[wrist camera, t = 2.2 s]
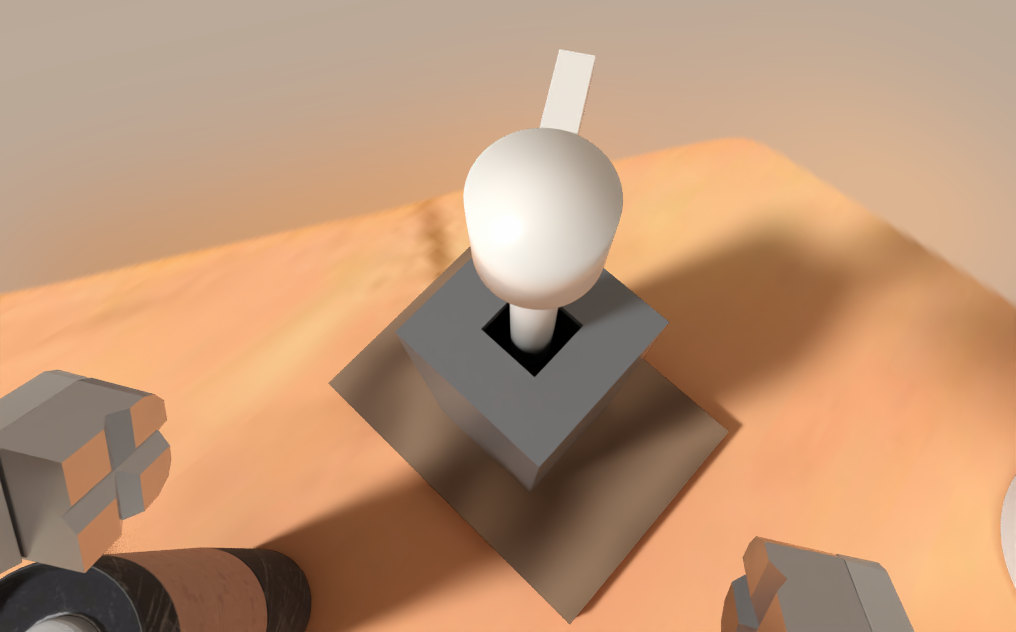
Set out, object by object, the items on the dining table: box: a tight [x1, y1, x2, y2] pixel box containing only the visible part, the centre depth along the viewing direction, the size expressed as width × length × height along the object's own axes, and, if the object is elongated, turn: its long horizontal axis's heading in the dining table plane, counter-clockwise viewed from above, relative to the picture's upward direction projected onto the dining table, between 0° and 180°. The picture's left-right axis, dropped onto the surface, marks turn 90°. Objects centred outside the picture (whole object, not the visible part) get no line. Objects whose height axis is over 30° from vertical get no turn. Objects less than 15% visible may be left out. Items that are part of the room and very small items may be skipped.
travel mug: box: [0, 548, 311, 632], centre depth 32 cm, size 8×8×20 cm
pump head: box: [464, 50, 623, 363], centre depth 23 cm, size 5×6×14 cm
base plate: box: [329, 247, 729, 624], centre depth 45 cm, size 22×16×2 cm
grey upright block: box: [395, 258, 669, 494], centre depth 35 cm, size 8×8×18 cm
